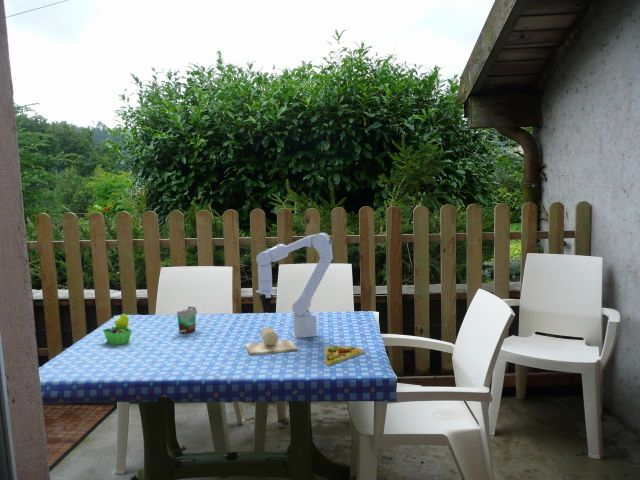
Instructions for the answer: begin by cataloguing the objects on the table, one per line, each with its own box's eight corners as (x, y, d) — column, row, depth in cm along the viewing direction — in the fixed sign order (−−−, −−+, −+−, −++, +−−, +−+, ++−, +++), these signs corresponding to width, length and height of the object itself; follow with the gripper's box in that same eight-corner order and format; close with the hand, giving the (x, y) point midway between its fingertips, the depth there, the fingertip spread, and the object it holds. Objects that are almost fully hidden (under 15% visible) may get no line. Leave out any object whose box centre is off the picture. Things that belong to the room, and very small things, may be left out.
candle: (263, 325, 224) (266, 331, 214) (276, 328, 225) (280, 334, 216) (259, 338, 224) (262, 345, 214) (272, 342, 225) (276, 348, 216)
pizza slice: (366, 353, 208) (366, 345, 208) (347, 370, 189) (347, 361, 189) (327, 350, 214) (327, 342, 214) (305, 366, 195) (305, 357, 195)
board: (290, 341, 225) (290, 339, 225) (297, 350, 212) (297, 348, 212) (245, 346, 221) (245, 344, 221) (249, 355, 208) (249, 353, 208)
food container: (191, 335, 241) (189, 312, 241) (177, 334, 243) (176, 311, 242) (202, 328, 253) (201, 306, 253) (189, 328, 255) (188, 306, 254)
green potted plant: (102, 341, 234) (101, 315, 233) (122, 337, 240) (121, 311, 239) (115, 346, 226) (114, 318, 225) (136, 341, 232) (134, 314, 231)
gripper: (253, 278, 242) (254, 309, 243) (258, 283, 228) (259, 316, 229) (269, 277, 243) (270, 308, 244) (275, 281, 229) (276, 314, 230)
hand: (266, 312), depth 237 cm, fingers closed
